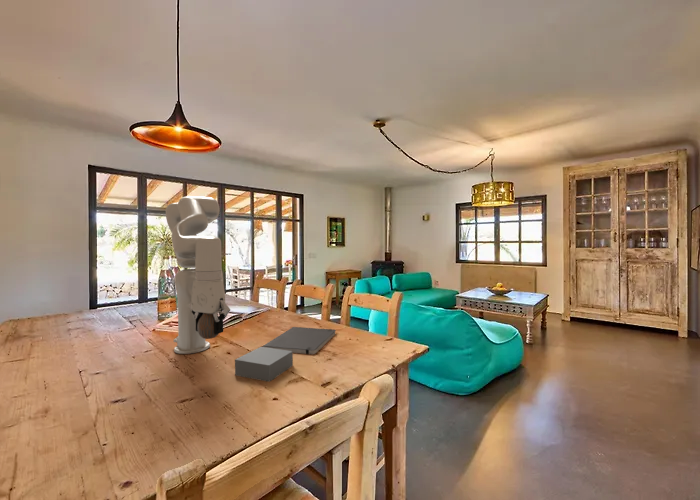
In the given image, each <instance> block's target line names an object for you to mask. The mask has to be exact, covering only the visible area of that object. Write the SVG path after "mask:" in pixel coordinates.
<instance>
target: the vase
mask: <svg viewBox="0 0 700 500" xmlns="http://www.w3.org/2000/svg"><path fill="white" fill-rule="evenodd" d="M215 321H216V320H215V318H214V315H213V314H207V313H204V314H203V315H202V316H201V317H200V319H199V321H198V325H197V329H198V333H199V335H200V336H201V337H202V338H204V339H206V340H209V339H210V340H211V339H214V338H217V336H218V335H219V334H214V322H215Z"/></svg>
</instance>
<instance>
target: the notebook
mask: <svg viewBox="0 0 700 500" xmlns="http://www.w3.org/2000/svg"><path fill="white" fill-rule="evenodd" d="M336 331H337V330H336V329H331V328H319V327H317V328H315V327H299V326H292V327H290V328H289V329H288V330H286V331H284V332H282V334H279V335H277V336H276V337H274V338H273V339H272V340H270V341H268V342H267V343H265V344H263V345H262V347H267V348H274V349H281V350H288V351H293V353H294V354H304V355H305V354H306V355H315V354H316V353H317V352H319V350H321V349H322V348H323V347H324V346H325V345H326V344H327V343H328V342H329V341H330V340H331V339H332V338H334V336H335V335H336Z"/></svg>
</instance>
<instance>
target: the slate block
mask: <svg viewBox="0 0 700 500" xmlns="http://www.w3.org/2000/svg"><path fill="white" fill-rule="evenodd" d="M293 356H294V355H293V351H288V350H281V349H274V348H267V347H263V346H260V347H258V348H256V349H253V350H252V351H249V352H248V353H245V354H243V355H242V356H239V357H237V358H235V359H234V376H238V377H242V378H248V379H253V380H259V381H264V382H269V383H270V382H272V381H273V380H274V379H275V378H277V377H279V376H281V375H282V374H283V373H284V372H286V371H287V370H290V368H292V367H293V364H294V362H293V359H294V358H293Z"/></svg>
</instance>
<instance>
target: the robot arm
mask: <svg viewBox="0 0 700 500" xmlns="http://www.w3.org/2000/svg"><path fill="white" fill-rule="evenodd" d="M220 210H221V209H220V205H219V203H218V201H217V200H216V199H215V198H213V197H210V196H195V195H193V196H192V195H187V196H183V197H181V198H180V199H179V200H178V202H172V203H169V204H167V206H166V208H165V218H166V223H167V226H168V227H169V228H168V229H170V232H171V245H172V248H173V252H174V255H175V257H176V262H177V265H178V266H179V267H180V268H183V269H181V270H179V271H178V272H176V273H175V275H174V286H175V290H176V297H177V298H176V299H177V323H178V324H177V325H178V326H177V327H178V333H177V334H178V336H176V338H173V342H174V343H176V346H175V347H174V349H173V351H174V352H175V354H180V355H188V354H196V353H200V352H204V351H206V350H208V349H209V348H210V346H211V343H210V342H209V341H206V340H207V339H204V338H202V337H201V336H200V335H199V333H198V329H197V325H198V321H199V319H200V317H201V316H202V315H203V314H204V313H207V314H213V315H214V318H215V320H216V321H215V322H214V334H218V335H220V334H221V333H224V321H225V319H226V317H227V316H228V314H229V313H230V312H231V308H230V307H229V306H228V305H227V303H226V292H225V285H224V273H223V267H222V265H223V264H222V263H223V262H222V240H221V239H220V237H217V236H214V235H198V234H201V233H203V232H204V231H206V229H207V228H208V226H209V224H211V223H213V222H214V221H215V220H216V219H218V217H219V215H220Z"/></svg>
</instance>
